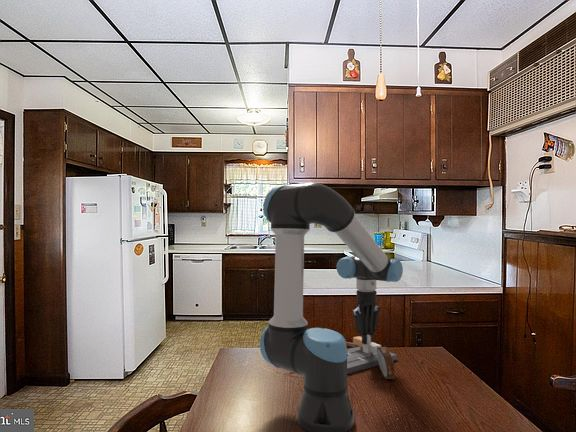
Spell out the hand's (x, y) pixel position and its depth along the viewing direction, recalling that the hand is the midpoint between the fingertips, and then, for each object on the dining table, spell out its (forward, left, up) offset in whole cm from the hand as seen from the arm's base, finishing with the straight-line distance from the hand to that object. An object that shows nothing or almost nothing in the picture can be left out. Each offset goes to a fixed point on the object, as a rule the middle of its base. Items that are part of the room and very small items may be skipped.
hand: (366, 352), depth 143 cm
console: (-3, +3, -4) cm, 6 cm away
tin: (-2, -11, -4) cm, 12 cm away
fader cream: (+2, 0, -2) cm, 3 cm away
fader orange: (+4, +7, -2) cm, 8 cm away
